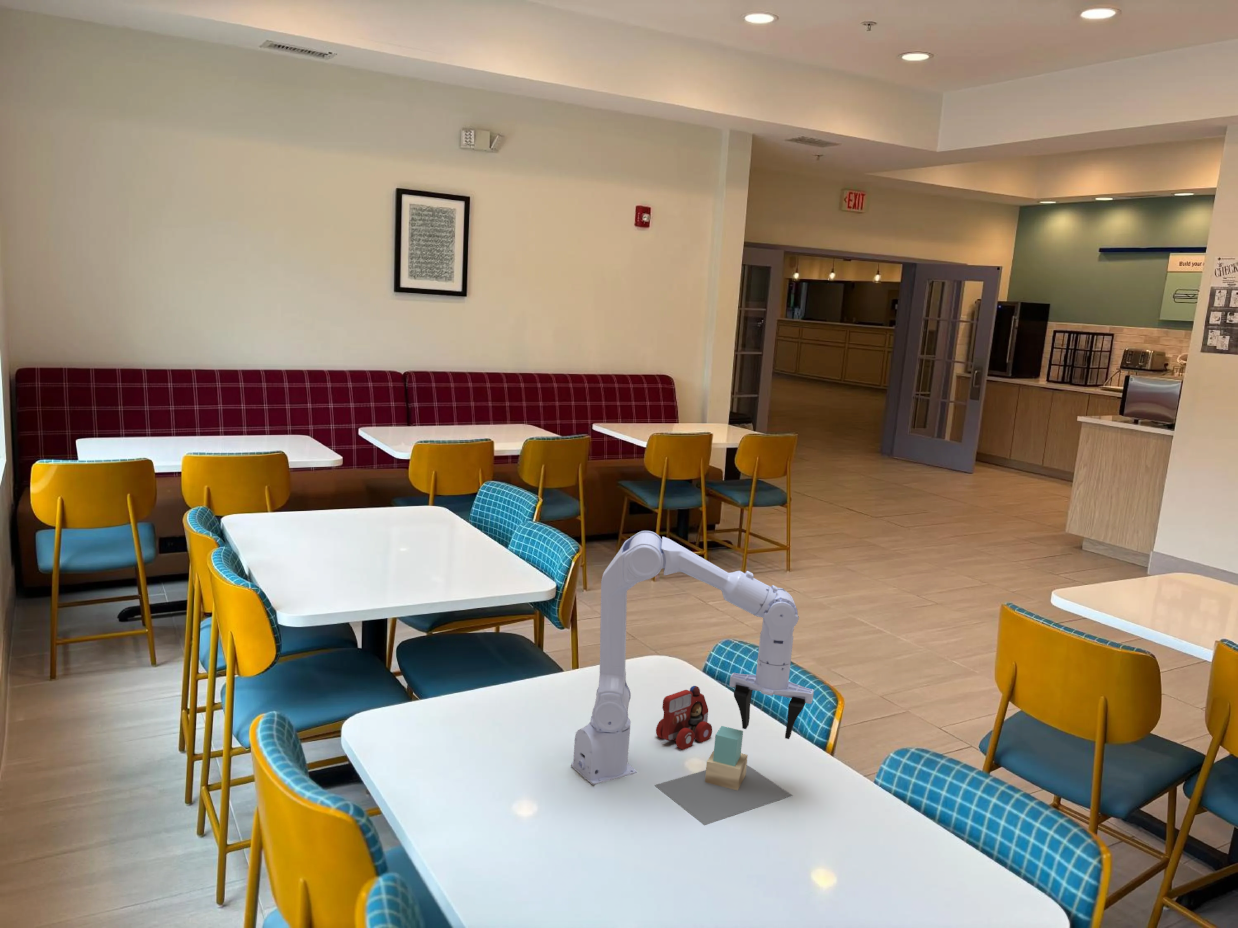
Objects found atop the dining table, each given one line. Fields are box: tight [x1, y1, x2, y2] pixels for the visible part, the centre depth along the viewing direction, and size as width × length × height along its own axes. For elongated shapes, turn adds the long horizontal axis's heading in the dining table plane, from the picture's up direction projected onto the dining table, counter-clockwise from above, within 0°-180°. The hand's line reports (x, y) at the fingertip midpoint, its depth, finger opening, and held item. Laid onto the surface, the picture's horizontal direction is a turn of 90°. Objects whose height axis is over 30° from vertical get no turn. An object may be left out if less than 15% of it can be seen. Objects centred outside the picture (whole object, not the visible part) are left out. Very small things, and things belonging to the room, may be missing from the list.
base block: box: [705, 750, 749, 790], centre depth 168 cm, size 6×6×4 cm
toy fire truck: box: [655, 685, 713, 751], centre depth 182 cm, size 7×12×10 cm, turn 133°
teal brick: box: [713, 725, 744, 766], centre depth 167 cm, size 4×4×5 cm
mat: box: [653, 764, 793, 826], centre depth 164 cm, size 20×14×1 cm
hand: (766, 731), depth 166 cm, fingers open, 7 cm apart
